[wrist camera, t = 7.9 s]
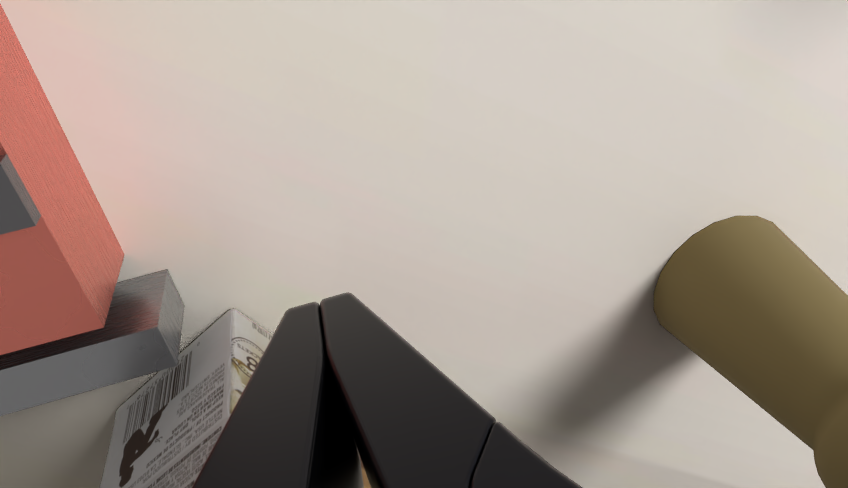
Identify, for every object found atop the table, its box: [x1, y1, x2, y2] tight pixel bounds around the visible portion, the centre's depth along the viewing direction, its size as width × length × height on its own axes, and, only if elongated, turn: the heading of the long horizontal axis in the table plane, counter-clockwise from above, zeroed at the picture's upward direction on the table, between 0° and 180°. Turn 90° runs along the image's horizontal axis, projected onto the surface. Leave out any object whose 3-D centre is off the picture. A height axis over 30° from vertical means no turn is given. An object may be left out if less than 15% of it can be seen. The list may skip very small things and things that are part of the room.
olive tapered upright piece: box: [654, 216, 848, 488], centre depth 22 cm, size 6×6×11 cm
